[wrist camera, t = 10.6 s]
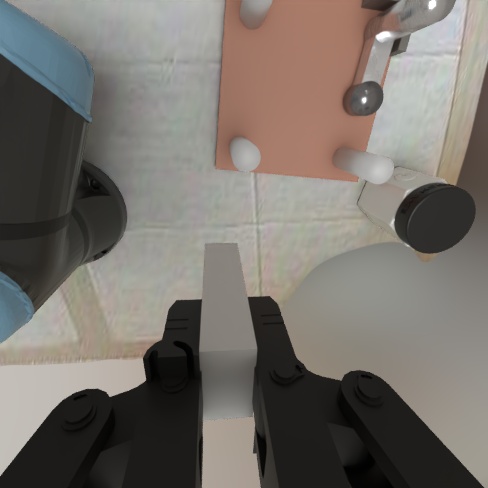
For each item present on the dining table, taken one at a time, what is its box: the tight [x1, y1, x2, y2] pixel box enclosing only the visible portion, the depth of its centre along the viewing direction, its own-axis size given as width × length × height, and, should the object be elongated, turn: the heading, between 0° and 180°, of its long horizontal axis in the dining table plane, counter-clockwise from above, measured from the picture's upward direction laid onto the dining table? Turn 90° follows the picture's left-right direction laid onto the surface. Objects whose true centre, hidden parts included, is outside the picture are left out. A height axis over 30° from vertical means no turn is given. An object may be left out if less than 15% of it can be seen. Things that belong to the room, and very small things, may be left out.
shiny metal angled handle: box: [343, 0, 456, 116], centre depth 29 cm, size 10×4×10 cm, turn 170°
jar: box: [357, 167, 476, 254], centre depth 37 cm, size 9×8×12 cm
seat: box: [216, 0, 411, 184], centre depth 31 cm, size 20×20×12 cm
